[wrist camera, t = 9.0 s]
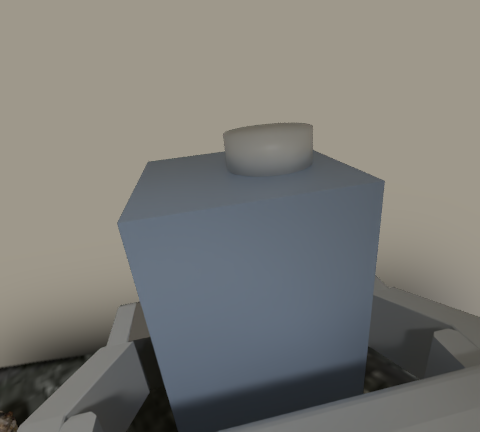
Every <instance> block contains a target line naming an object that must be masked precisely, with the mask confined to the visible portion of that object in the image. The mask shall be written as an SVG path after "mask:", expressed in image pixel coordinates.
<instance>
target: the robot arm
mask: <svg viewBox="0 0 480 432" xmlns="http://www.w3.org/2000/svg"><path fill="white" fill-rule="evenodd" d="M368 346H369V347H371V348H372V349H374V350H376V351H377V352H379V353H380V354H382V355H383V356H385V357H386V358H388V359H389V360H391V361H393V362H394V363H396V364H397V365H399V366H400V367H402V368H403V369H405V370H406V371H408V372H409V373H411V374H413V375H414V376H416V377H417V378H419V379H420V380H417V381H413V382H409V383H405V384H401V385H397V386H393V387H389V388H385V389H381V390H377V391H374V392H370V393H366V394H362V395H358V396H354V397H350V398H346V399H342V400H338V401H334V402H330V403H326V404H322V405H318V406H314V407H311V408H307V409H303V410H299V411H295V412H291V413H287V414H283V415H279V416H275V417H271V418H267V419H263V420H259V421H255V422H251V423H248V424H244V425H240V426H236V427H232V428H228V429H224V430H220V431H216V432H480V317H478V316H475V315H472V314H469V313H466V312H464V311H461V310H458V309H455V308H452V307H449V306H446V305H444V304H441V303H438V302H435V301H432V300H429V299H426V298H424V297H421V296H418V295H415V294H412V293H409V292H406V291H404V290H401V289H398V288H395V287H392V288H389V287H387V286H386V285H385V284H384V283H383V282H382V281H381V280H380V279H379V278H378V277H377V276H376V275H375V281H374V291H373V301H372V311H371V320H370V330H369V340H368ZM161 387H165V385H164V382H163V378H162V375H161V371H160V368H159V365H158V361H157V358H156V354H155V351H154V347H153V344H152V341H151V337H150V334H149V330H148V327H147V324H146V320H145V317H144V313H143V310H142V306H141V303H140V302H138V303H137V302H136V303H130V304H125V305H121V306H120V307H119V308H118V310H117V313H116V317H115V320H114V323H113V326H112V330H111V333H110V336H109V340H108V343H107V346H106V347H103V348H100V349H99V350H98V351H97V352H96V353H95V354H94V355H93V356H92V357H91V358H90V359H89V360H88V361H87V362H86V363H85V364H84V365H83V366H82V367H81V368H79V369H78V370H77V371H76V372H75V373H74V374H73V375H72V376H71V377H70V378H69V379H68V380H67V381H66V382H65V383H64V384H63V385H62V386H61V387H60V388H59V389H58V390H57V391H56V392H55V393H53V394H52V395H51V396H50V397H49V398H48V399H47V400H46V401H45V402H44V403H43V404H42V405H41V406H40V407H39V408H38V409H37V410H36V411H35V412H34V413H33V414H32V415H31V416H30V417H29V418H27V419H26V420H25V421H24V422H23V423H22V424H21V425H20V426H19V428H18V430H17V432H126V431H127V429H128V427H129V426H130V424H131V422H132V421H133V419H134V417H135V416H136V414H137V413H138V411H139V409H140V408H141V406H142V404H143V403H144V401H145V399H146V398H147V396H148V394H149V393H150V392H149V390H153V389H157V388H161Z"/></svg>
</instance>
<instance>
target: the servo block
mask: <svg viewBox="0 0 480 432" xmlns="http://www.w3.org/2000/svg"><path fill="white" fill-rule="evenodd" d="M223 138H224V146H225V152H218V153H211V154H203V155H195V156H188V157H181V158H174V159H166V160H158V161H151V162H148V163H147V165H146V167H145V169H144V171H143V173H142V175H141V177H140V179H139V181H138V183H137V185H136V187H135V189H134V191H133V193H132V195H131V197H130V199H129V201H128V203H127V205H126V207H125V209H124V211H123V213H122V215H121V217H120V219H119V220H118V223H117V224H118V227H119V231H120V235H121V238H122V241H123V245H124V248H125V252H126V255H127V259H128V262H129V265H130V269H131V272H132V276H133V279H134V283H135V286H136V289H137V292H138V296H139V300H140V303H141V306H142V310H143V313H144V317H145V320H146V324H147V327H148V330H149V334H150V337H151V341H152V344H153V347H154V351H155V354H156V358H157V361H158V365H159V368H160V371H161V375H162V378H163V382H164V385H165V388H166V392H167V395H168V399H169V402H170V406H171V409H172V412H173V416H174V419H175V423H176V426H177V429H178V432H216V431H220V430H224V429H228V428H232V427H236V426H240V425H244V424H248V423H251V422H255V421H259V420H263V419H267V418H271V417H275V416H279V415H283V414H287V413H291V412H295V411H299V410H303V409H307V408H311V407H314V406H318V405H322V404H326V403H330V402H334V401H338V400H342V399H346V398H350V397H354V396H358V395H362V394H363V389H364V379H365V370H366V360H367V350H368V340H369V330H370V320H371V311H372V301H373V291H374V281H375V271H376V262H377V252H378V242H379V232H380V222H381V213H382V202H383V193H384V183H385V181H384V180H381V179H379V178H377V177H374V176H372V175H370V174H367V173H365V172H363V171H361V170H358V169H356V168H354V167H351V166H349V165H347V164H344V163H342V162H340V161H337V160H335V159H333V158H330V157H328V156H326V155H323V154H321V153H319V152H316V151H314V150H313V126H312V125H310V124H305V123H274V124H263V125H255V126H247V127H242V128H237V129H233V130H229V131H227V132H225V133H224V134H223Z"/></svg>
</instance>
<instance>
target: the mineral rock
mask: <svg viewBox="0 0 480 432" xmlns="http://www.w3.org/2000/svg"><path fill="white" fill-rule="evenodd" d="M12 416H13V412H8V413H5V412H3V411H1V410H0V432H17V430H18V426H17V425H16V420H15V417H13V418H12Z"/></svg>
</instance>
